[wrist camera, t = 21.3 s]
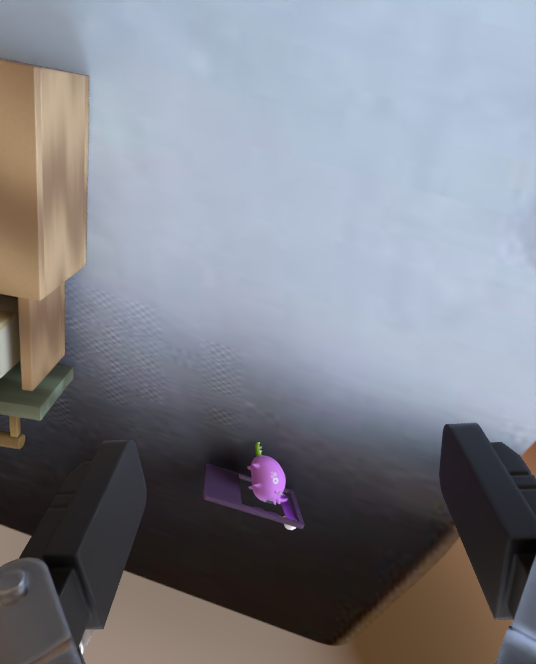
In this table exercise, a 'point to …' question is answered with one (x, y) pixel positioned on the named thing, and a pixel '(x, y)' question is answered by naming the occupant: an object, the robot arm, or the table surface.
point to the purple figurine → (265, 486)
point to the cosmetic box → (9, 333)
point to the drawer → (35, 365)
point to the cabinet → (42, 177)
